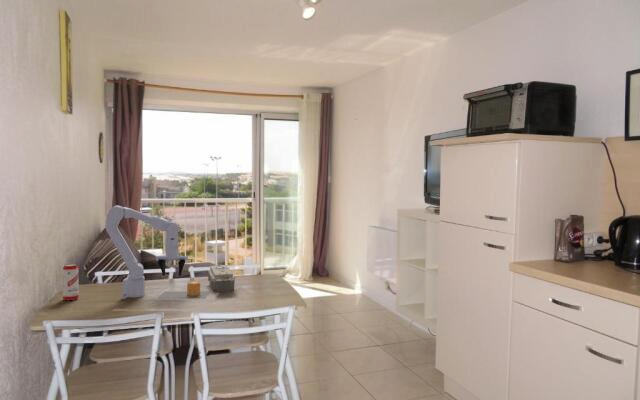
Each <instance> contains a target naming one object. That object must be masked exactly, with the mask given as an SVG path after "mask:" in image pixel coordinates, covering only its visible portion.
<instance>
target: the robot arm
mask: <svg viewBox="0 0 640 400" xmlns="http://www.w3.org/2000/svg"><path fill="white" fill-rule="evenodd" d="M123 218H124V219H129V218H133V219H136V220H138V221H141V222H145V223H148V224H149V227H150V228H153V229H156V230H159V231H161V232H165V234H166V235H165V236H166V237H165V255H156V256H155V261H157V265H158V266H159V268H160V270H161V273H162V276H165V275H166V263H167V261H178V263H177V264H178V276H182V273H183V269H184V266H185V263H186V261H188V260H189V256H188V255H179V230H180V228H179V225H178V224H177V223H176V222H174V220H173V221H172V220H171V219H166V218H163V217H161V215H160V214H159V215H152V216H151V215H148V214H145V213H144V212H140V211H138V210H135V209H133V208H130V207H126V206H124V207H123V206H122V205H119V204H118V205H117V204H116V205H114V206H112V207H111V208H110V209H109V210H108V213H107V214H106V222H105V231H106V233H107V234H108V235H109V238H110V239H111V241H112V243H113V244H114V246H115V247H116V249H117V252H118V253H119V255H120V256H121V258H122V260H123V261H124V263H125V266H126V268H127V270H128V275H129V276H128V277H127V278H124V279H123V280H122V284H121V300H126V299H127V298H140V297H144V296H145V294H146V293H145V292H146V291H145V287H146V286H145V285H146V284H145V283H146V282H145V276H144V274H145V273H144V270H145V268H144V265H143V264H142V263H140V262H139V260H138V259H137V258H136V257H135V255H134V253H133V251H132V250H131V248H130V247H129V245H128V243H127V241H126V239H125V238H124V236H123V235H122V233H121V231H120V230H119V224H120V221H122V219H123Z"/></svg>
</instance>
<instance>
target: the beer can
mask: <svg viewBox="0 0 640 400" xmlns="http://www.w3.org/2000/svg"><path fill="white" fill-rule="evenodd" d="M79 290H80V289H79V267H78V266H77V263H67V264H64V265H63V268H62V299H63V301H65V300H73V301H76V300H78V298H79V294H80V293H79ZM75 299H76V300H75Z"/></svg>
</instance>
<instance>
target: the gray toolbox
mask: <svg viewBox="0 0 640 400" xmlns="http://www.w3.org/2000/svg"><path fill="white" fill-rule="evenodd" d="M208 267H209V269H208V270H207V275H208V277H207V281H208V282H209V283H208V284H209V287H210V289H211V291H217V292H218V293H228V292H229V293H230V292H234V291H235V281H236V277H235V276H234V272H232V270H231V269H230V267H229V266H228V264H222V265H221V264H220V265H216V264H215V265H209V266H208Z"/></svg>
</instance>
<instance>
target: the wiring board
mask: <svg viewBox="0 0 640 400" xmlns="http://www.w3.org/2000/svg"><path fill="white" fill-rule="evenodd" d="M210 294H211V291H200V294H199V295H196V296H189V295H187V291H164V292H163V293H161V294H160V295H159V296H158V297H157V299H206V298H208V296H209V295H210Z"/></svg>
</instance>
